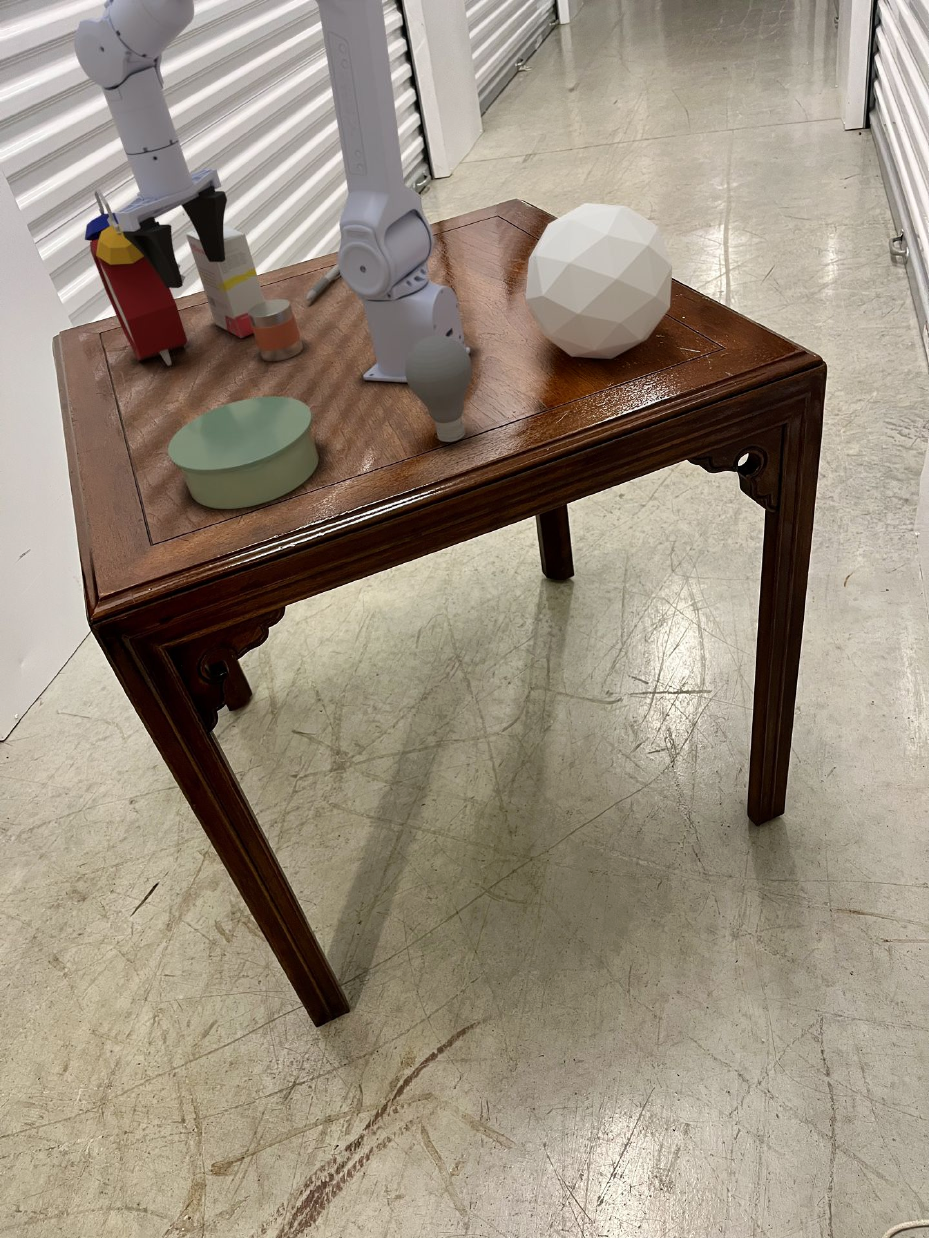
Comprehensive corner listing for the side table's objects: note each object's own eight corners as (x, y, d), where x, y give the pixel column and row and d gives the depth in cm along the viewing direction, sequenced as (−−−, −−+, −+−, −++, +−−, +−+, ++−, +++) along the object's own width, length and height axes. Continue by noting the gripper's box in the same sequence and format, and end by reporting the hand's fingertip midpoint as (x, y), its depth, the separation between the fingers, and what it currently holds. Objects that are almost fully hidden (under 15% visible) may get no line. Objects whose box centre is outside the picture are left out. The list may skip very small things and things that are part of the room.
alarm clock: (126, 344, 124) (60, 184, 111) (188, 323, 126) (131, 164, 114) (149, 380, 113) (78, 207, 100) (217, 356, 115) (157, 184, 103)
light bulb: (408, 445, 89) (385, 345, 83) (453, 418, 92) (433, 319, 86) (451, 461, 86) (430, 358, 79) (496, 432, 88) (479, 330, 82)
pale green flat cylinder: (350, 442, 92) (338, 400, 89) (271, 520, 83) (255, 476, 80) (240, 432, 98) (226, 392, 95) (156, 503, 89) (137, 462, 86)
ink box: (274, 326, 120) (246, 231, 113) (240, 340, 118) (208, 244, 111) (248, 311, 126) (218, 220, 119) (214, 324, 124) (182, 232, 117)
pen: (350, 266, 133) (347, 256, 132) (312, 306, 123) (309, 295, 122) (343, 266, 133) (341, 256, 133) (305, 306, 123) (302, 296, 123)
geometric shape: (618, 376, 104) (670, 240, 101) (655, 384, 90) (717, 224, 86) (497, 331, 102) (546, 189, 98) (516, 332, 88) (574, 165, 84)
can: (311, 343, 113) (298, 299, 110) (287, 362, 110) (274, 317, 106) (277, 342, 115) (263, 298, 112) (253, 360, 112) (238, 316, 109)
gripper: (170, 128, 107) (210, 250, 115) (76, 169, 97) (128, 297, 106) (217, 125, 103) (255, 250, 112) (124, 167, 94) (173, 299, 103)
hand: (196, 273), depth 109 cm, fingers open, 7 cm apart
